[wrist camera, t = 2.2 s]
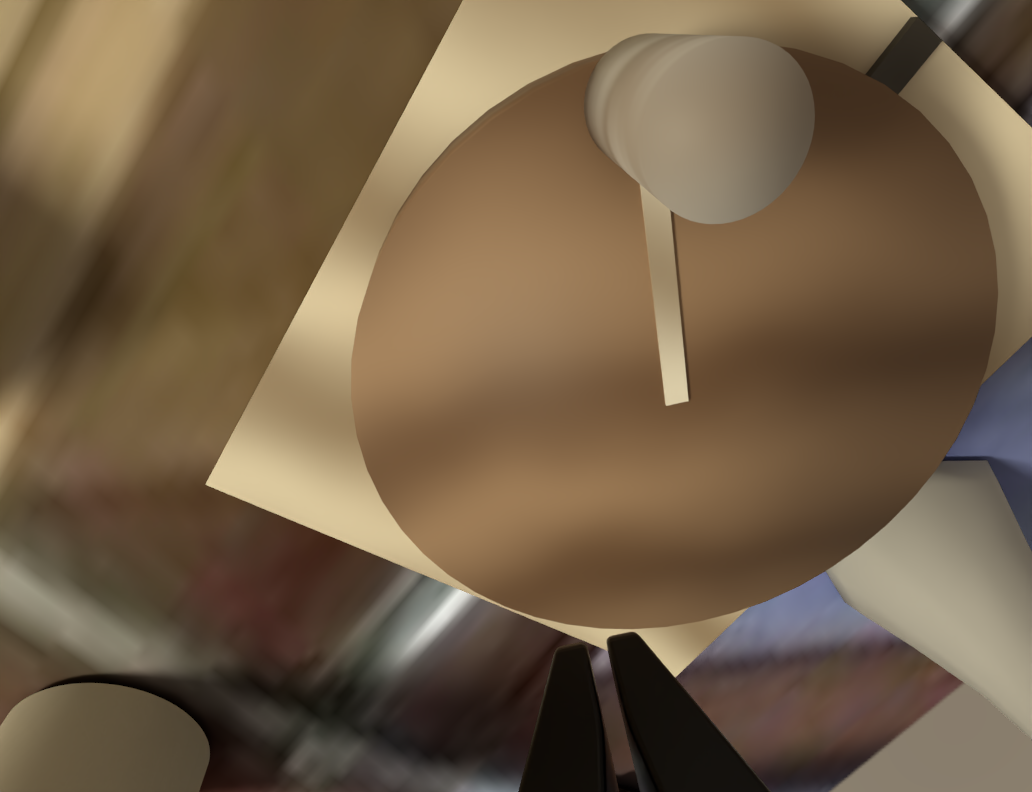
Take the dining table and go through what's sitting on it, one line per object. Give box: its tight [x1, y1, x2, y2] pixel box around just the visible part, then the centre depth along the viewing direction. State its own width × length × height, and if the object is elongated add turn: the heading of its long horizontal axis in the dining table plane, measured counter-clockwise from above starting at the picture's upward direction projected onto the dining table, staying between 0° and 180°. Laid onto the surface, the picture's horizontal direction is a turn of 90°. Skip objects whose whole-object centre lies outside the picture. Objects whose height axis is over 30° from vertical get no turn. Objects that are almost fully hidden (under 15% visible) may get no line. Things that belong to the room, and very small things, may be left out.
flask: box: [826, 460, 1032, 740], centre depth 22 cm, size 7×7×10 cm
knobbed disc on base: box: [351, 33, 998, 629], centre depth 17 cm, size 17×17×7 cm
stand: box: [205, 0, 1032, 677], centre depth 20 cm, size 21×19×2 cm
